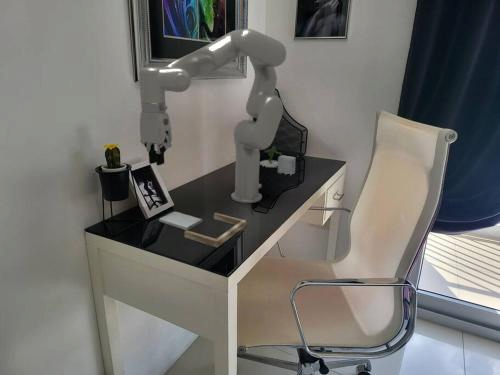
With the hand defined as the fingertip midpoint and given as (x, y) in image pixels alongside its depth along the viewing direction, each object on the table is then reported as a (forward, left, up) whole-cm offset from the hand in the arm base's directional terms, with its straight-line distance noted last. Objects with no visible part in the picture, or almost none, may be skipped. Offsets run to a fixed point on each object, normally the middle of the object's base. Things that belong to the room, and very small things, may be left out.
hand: (156, 163), depth 116 cm
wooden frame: (0, +23, -19) cm, 30 cm away
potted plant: (-85, +3, -19) cm, 87 cm away
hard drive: (0, +9, -20) cm, 22 cm away
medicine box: (-74, +17, -19) cm, 78 cm away
